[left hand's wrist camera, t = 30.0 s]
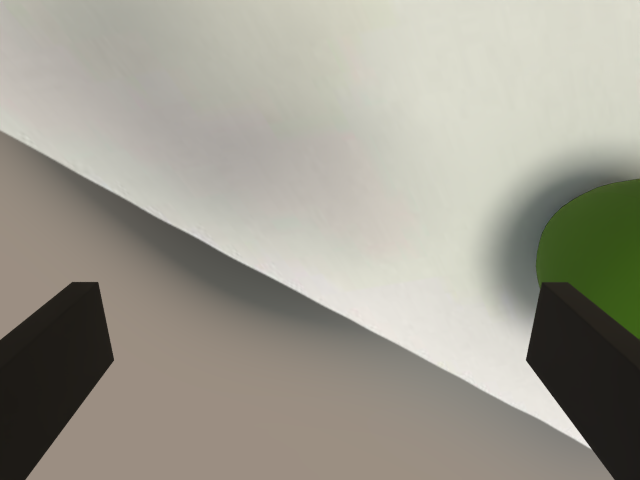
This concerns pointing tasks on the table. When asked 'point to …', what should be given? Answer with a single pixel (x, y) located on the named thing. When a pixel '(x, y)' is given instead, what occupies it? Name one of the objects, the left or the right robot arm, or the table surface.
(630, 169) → the table surface
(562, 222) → the vase
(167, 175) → the table surface
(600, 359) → the left robot arm
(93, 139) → the table surface
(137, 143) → the table surface
